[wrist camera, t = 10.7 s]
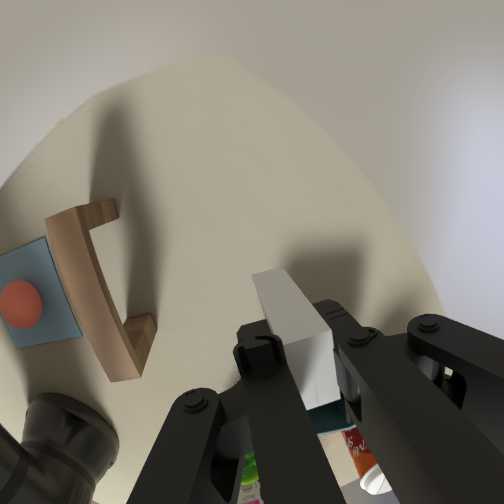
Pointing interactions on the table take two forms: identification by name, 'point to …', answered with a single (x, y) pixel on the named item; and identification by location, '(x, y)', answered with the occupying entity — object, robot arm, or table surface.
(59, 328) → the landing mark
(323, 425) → the flower pot
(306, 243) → the table surface
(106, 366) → the bridge
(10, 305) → the ball
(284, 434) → the robot arm
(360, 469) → the paper cup
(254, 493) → the candy bar box
